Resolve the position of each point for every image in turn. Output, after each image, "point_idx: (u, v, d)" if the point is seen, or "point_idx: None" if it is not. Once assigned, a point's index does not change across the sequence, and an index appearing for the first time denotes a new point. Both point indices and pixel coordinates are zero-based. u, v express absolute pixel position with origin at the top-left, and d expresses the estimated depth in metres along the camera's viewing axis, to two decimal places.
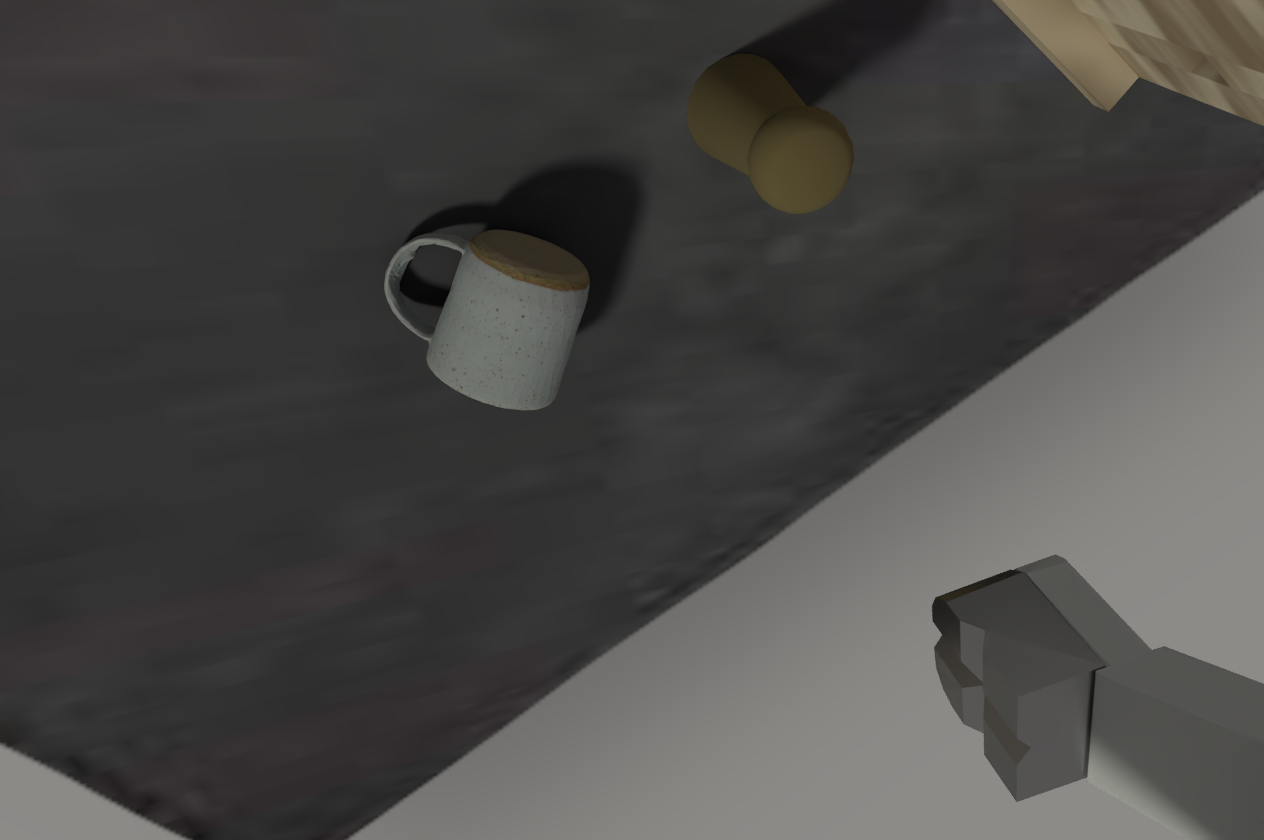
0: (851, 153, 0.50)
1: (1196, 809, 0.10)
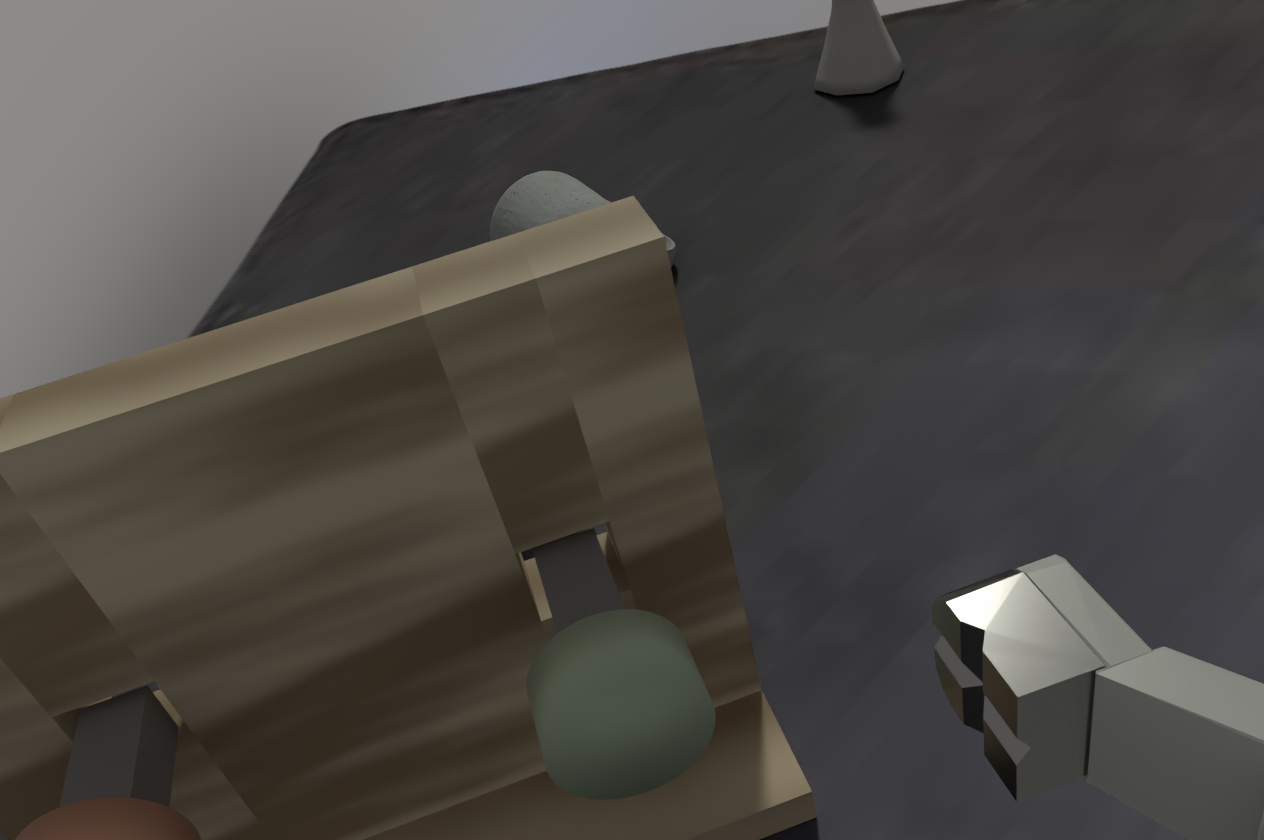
0: None
1: (1196, 809, 0.10)
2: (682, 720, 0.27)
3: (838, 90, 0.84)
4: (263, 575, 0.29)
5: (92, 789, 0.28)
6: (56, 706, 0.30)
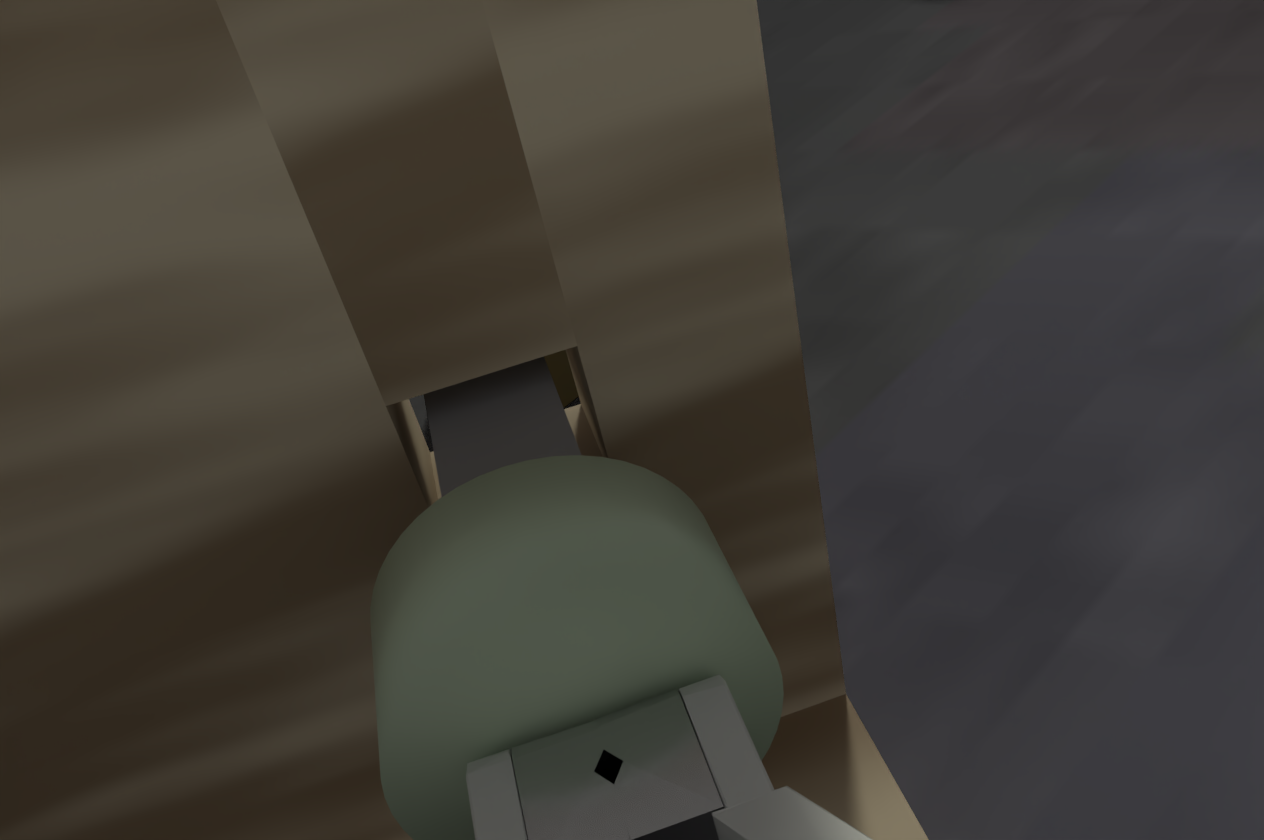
0: None
1: None
2: None
3: None
4: None
5: None
6: None
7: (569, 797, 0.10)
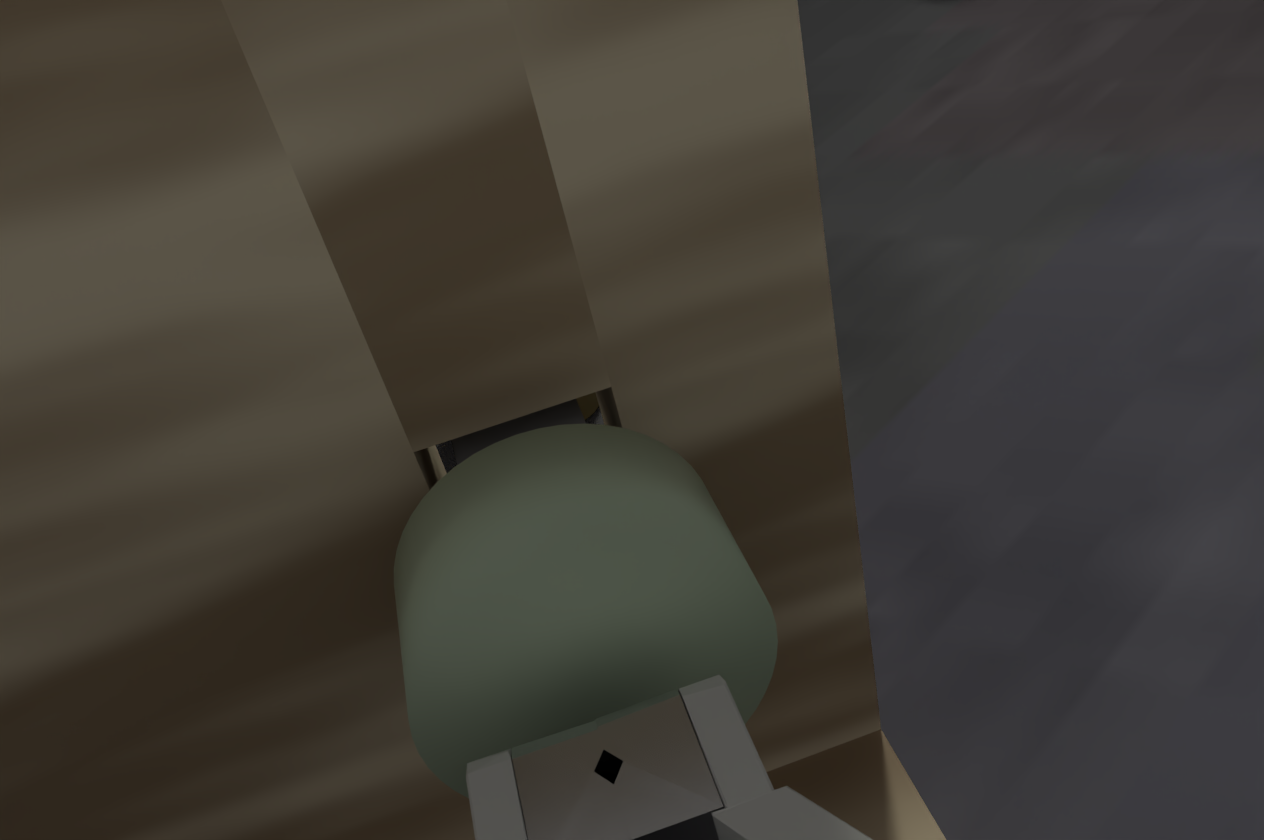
0: None
1: None
2: (708, 647, 0.13)
3: None
4: None
5: None
6: None
7: (569, 797, 0.10)
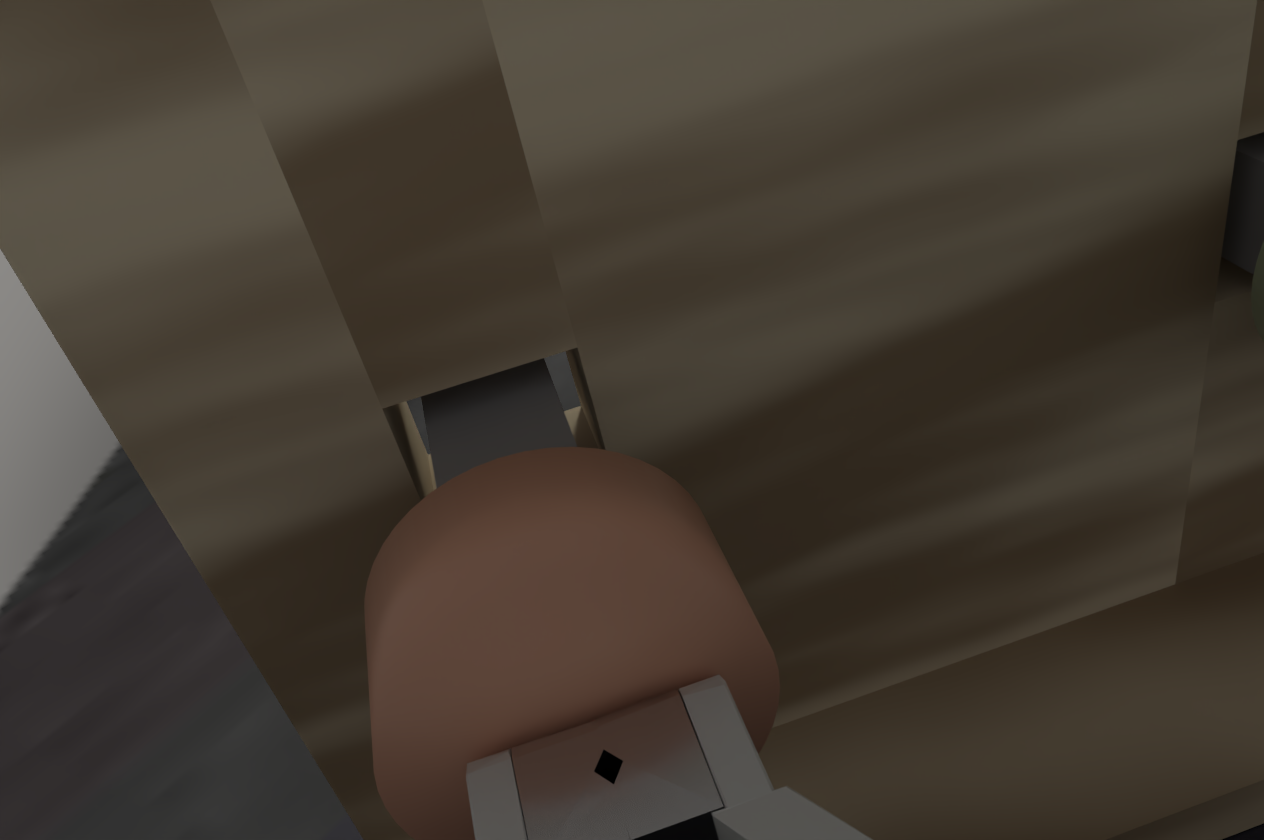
0: None
1: None
2: None
3: None
4: (828, 115, 0.15)
5: None
6: (396, 384, 0.15)
7: (569, 797, 0.10)
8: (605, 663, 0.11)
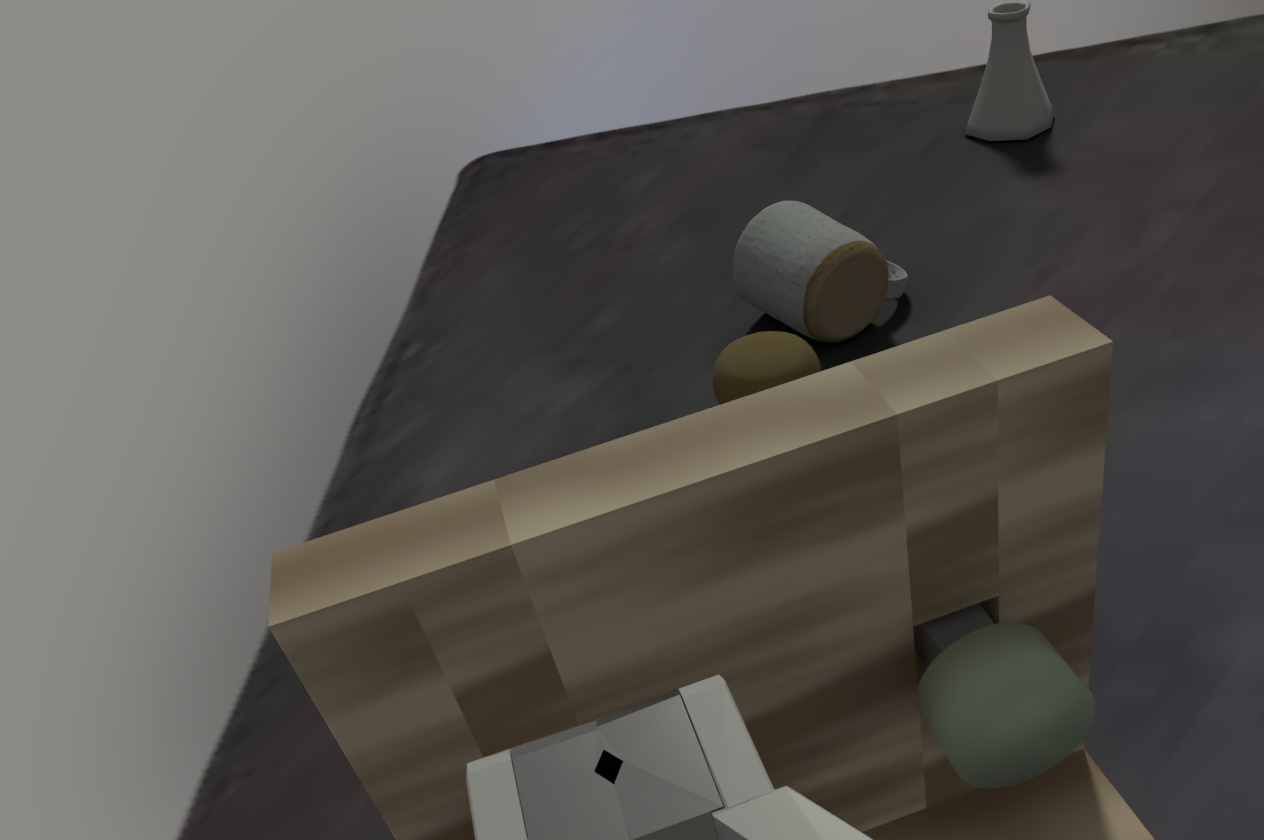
0: (750, 383, 0.48)
1: None
2: (1068, 719, 0.31)
3: (992, 136, 0.86)
4: (701, 647, 0.31)
5: None
6: None
7: (569, 797, 0.10)
8: None
